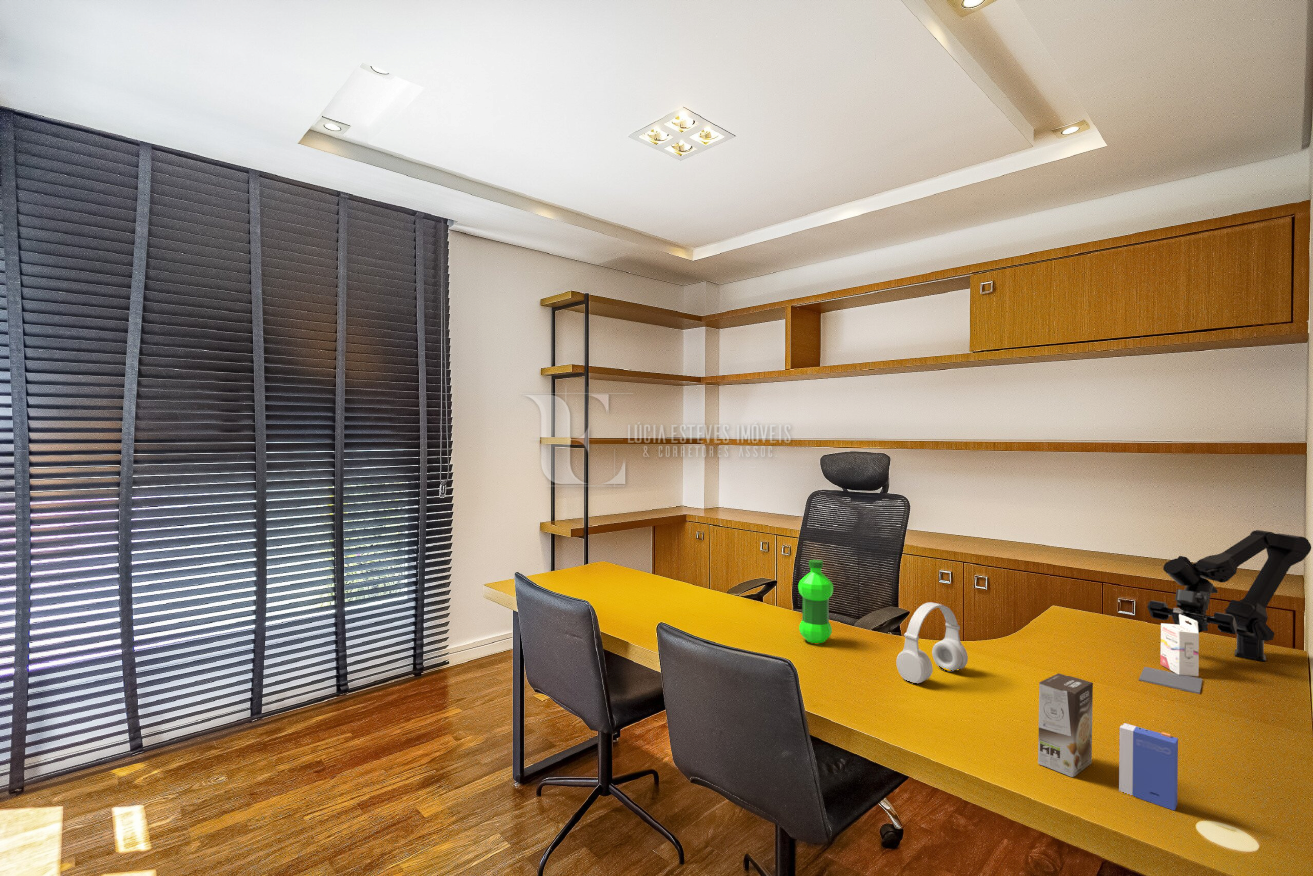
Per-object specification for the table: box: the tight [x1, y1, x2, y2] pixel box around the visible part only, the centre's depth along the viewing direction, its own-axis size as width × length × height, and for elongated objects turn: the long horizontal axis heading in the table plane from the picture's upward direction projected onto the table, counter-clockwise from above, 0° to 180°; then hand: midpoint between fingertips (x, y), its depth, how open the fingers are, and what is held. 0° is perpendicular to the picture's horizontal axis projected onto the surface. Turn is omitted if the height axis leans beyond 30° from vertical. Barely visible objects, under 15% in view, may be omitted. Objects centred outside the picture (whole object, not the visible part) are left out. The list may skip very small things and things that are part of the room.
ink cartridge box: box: [1159, 614, 1200, 677], centre depth 167 cm, size 9×5×15 cm, turn 168°
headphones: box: [895, 601, 969, 684], centre depth 163 cm, size 20×8×19 cm, turn 121°
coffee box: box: [1037, 673, 1094, 778], centre depth 120 cm, size 9×6×16 cm
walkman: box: [1118, 722, 1179, 811], centre depth 109 cm, size 8×3×12 cm, turn 42°
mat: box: [1138, 666, 1203, 695], centre depth 161 cm, size 12×12×1 cm
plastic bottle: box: [797, 559, 834, 644], centre depth 190 cm, size 10×10×25 cm
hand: (1183, 641), depth 170 cm, fingers closed
